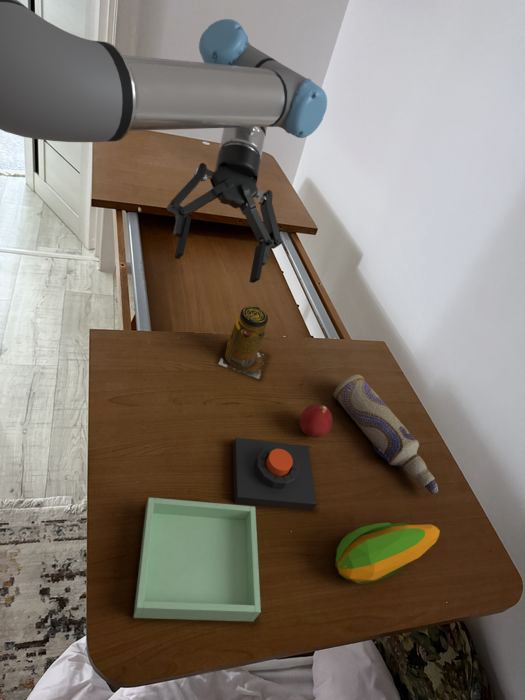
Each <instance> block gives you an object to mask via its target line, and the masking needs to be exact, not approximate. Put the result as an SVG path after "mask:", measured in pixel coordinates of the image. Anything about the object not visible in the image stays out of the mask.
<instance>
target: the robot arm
mask: <svg viewBox="0 0 525 700" xmlns="http://www.w3.org/2000/svg"><path fill="white" fill-rule="evenodd" d="M198 50H199V54H200V56H201V58H202V61H203V62H200V61H189V60H180V59H169V58H160V57H149V56H136V55H128V54H127V55H126V54H123V53H122V51H121V50H119V48H118V47H117V46H115V44H113V43H110V42H107V41H100V40H93V39H92V40H91V39H87V38H84V37H80V36H77V35H76V34H74V33H71V32H69V31H66V30H64V29H62V28H60V27H59V26H57V25H55V24H53V23H51V22H49V21H48V20H46V19H45V18H43V17H42V16H40V15H38V14H37V13H35V12H34V11H32V10H31V9H30V8H28V7H27V6H26V5H25V4H23V3H22V2H21V1H20V0H0V131H2V132H5V133H9V134H11V135H16V136H19V137H23V138H28V139H35V140H41V141H48V142H49V141H51V142H62V143H106V142H108V143H109V142H118V141H119V142H120V141H121V140H123V139H125V137H126V136H128V133H129V132H133V131H134V132H137V131H165V130H166V131H168V130H198V129H199V130H201V129H204V130H205V129H222V134H221V138H220V142H219V147H218V148H219V150H218V152H217V158H216V163H215V167H214V171H213V170H211V169H209V168H207V164H206V163H205V162H201V163H199V165H198V167H197V168H196V170H195V171H194V174H193V176H192V178H191V179H190V180H189V181H188V182H187V183H186V185H184V187H183V188H181V190H180V191H179V192H178V193H177V194H176V195H175V196H174V197H173V198H172V199H171V200H170V202H169V204H168V205H167V206H166V210H167V212H169V213H172V214H173V215H174V218H175V223H174V228H173V232H172V233H173V236H175V237H177V238H178V240H177V244H176V248H175V251H174V252H175V253H174V259H175V260H180V259H181V258H182V257H183V256H184V253H185V249H186V244H187V241H188V235H189V230H190V225H191V222H192V216H190V215H192V214H193V213H194V212H196V211H198V210H200V209H201V208H203V207H204V206H206V205H207V204H209V203H212V202H213V201H215V200H216V199H217V200H218V201H220V202H219V203H221V204H222V205H229V206H230V207H231V208H233V209H240V212H241V213H242V215H243V216H244V217H245V219H246V220H247V222H248V225H249V226H250V230H251V231H252V232H253V234H254V237H255V239H256V241H257V243H258V245H257V246H255V250H254V253H253V254H254V255H253V260H252V265H251V269H250V277H249V283H252V284H254V283H256V282H258V281H260V280H261V276H262V270H263V266H265V265H266V264H267V263H268V262H269V257H270V251H271V249H272V250H274V249H276V248H278V247H279V246H280V245H282V243H283V240H282V237H281V233H280V229H279V225H278V221H277V217H276V213H275V210H274V206H273V195H274V194H273V191H272V190H270V189H268V190H266V191H263V190H260V189H258V186H257V185H258V184H257V183H258V179H259V173H260V168H261V163H262V162H261V161H262V160H261V159H262V155H263V151H264V147H265V140H266V135H267V129H268V128H273V127H274V128H280V129H283V130H284V131H285V132H286V133H287V134H290V135H292V136H294V137H296V138H299V139H304V138H307V137H309V136H311V135H312V134H313V133H314V132H315V131H316V130H317V129H318V128H319V127H320V126H321V123H322V122H323V120H324V116H325V115H326V112H327V107H328V97H327V94H326V92H325V90H324V89H323V88H322V87H320V85H318V84H316V83H315V82H314V81H312V79H311V78H308V77H307V78H306V77H305V76H303V75H302V74H300V73H299V72H296V71H294V70H293V69H291V68H289V67H288V66H286V65H284V64H282V63H281V62H279V61H278V60H276V59H275V58H273V57H271V56H269V55H268V54H267V53H264V52H263V51H261V50H259V49H258V48H257V47H254V46H253V45H252V44H250V42H249V37H248V35H247V33H246V31H245V30H244V28H243V26H242V24H241V23H240V22H238V21H237V20H234V19H231V18H224V19H219V20H216V21H215V22H212V23H210V25H208V27H207V28H206V29H205V30H204V31H203V32H202V34H201V36H200V38H199V42H198ZM207 180H209V181H210V184H211V186H212V188H211V189H210V190H209V191H207V192H205V193H204V194H202V195H200V196H199V197H197V198H195V199H194V200H192V201H191V202H188V203H187V204H185V205H184V206H182V205H181V203H183V202H184V200H185V199H186V198H187V197H188V196H189V195H190V194H191V193H192V192H193V190H195V189H196V187H197V186H198V185H199V184H200V182H206V181H207ZM255 198H256V200H257V204H258V205H259V209H260V213H261V215H260V213H259V211H258V209H257V204H256V201H255V200H254V199H255Z"/></svg>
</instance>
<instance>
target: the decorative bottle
mask: <svg viewBox="0 0 525 700" xmlns="http://www.w3.org/2000/svg"><path fill="white" fill-rule="evenodd" d="M332 396H333V398H334V399H335V400H336V401H338V403H339V405H341V406H342V408H343V409H344V410H345V412H346V413H347V414H348V415H349V416H350V418H351V419H352V420H353V422H355V424H356V425H357V427H358V428H359V429H360V430H361V431H362V433H363V434H364V435H365V436H366V437H367V439H368V440H369V441H370V442H371V443H372V445H373V450H374V452H375V453H376V454H377V455H378V456H380V457H381V458H382V459H384V460H385V461H386V462H387V463H388V464H389V465H390V466H395V467H399V468H400V469H403V470H404V471H405V472H406V473H407V474H408V475H409V476H410V477H412V478H414V479H415V480H416V481H417V483H418V484H419V485H420V486H421V487H422V488H426V489H427V491H428V492H429V493H431V494H432V495H436V494H437V493H438V492H439V491H440V490H439V487H438V483H437V481H436V480H435V477H434V475H433V474H432V473H431V471H430V470H428V466H427V465H426V463H425V461H424V460H423V458H422V457H421V456H420V455H418V453H417V452H418V449H419V447H420V443H419V441H418V440H417V439H416V438H415V436H414V435H413V434H412V433H411V431H410V430H409V429H407V427H406V426H405V425H404V424H403V422H401V421H400V419H399V418H398V417H397V416H396V415H395V413H393V412H392V410H391V409H390V408H389V406H388V405H387V404H386V403H385V402H384V401H383V400H382V398H380V396H379V395H378V394H377V393H376V391H374V389H373V388H372V387H371V386H370V385H369V383H368V382H367V381H366V380H365V378H364V377H363V376H362V375H361V374H354V375H352V376H350V377H347V378H346V379H344V380H343V381H342V382H341V383H339V385H337V387H336V388H335V390H334V392H333V394H332Z"/></svg>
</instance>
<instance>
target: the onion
mask: <svg viewBox="0 0 525 700" xmlns="http://www.w3.org/2000/svg"><path fill="white" fill-rule="evenodd" d="M299 416H300V417H299V425H300V429H301V431H302V432H303V433H304V434H306V436H308V437H310V438H322V437H325V436H326V435H328V434H329V432H330V431H331V429H332V427H333V421H334V419H333V415H332V412H331V411H330V409H329V408H328V407H327V406H325V405H324V404H320V403H316V404H311V405H309V406H307V407H305V408H304V409H303V410H302V412H301V413H300V415H299Z"/></svg>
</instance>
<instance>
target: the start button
mask: <svg viewBox="0 0 525 700" xmlns="http://www.w3.org/2000/svg"><path fill="white" fill-rule="evenodd" d="M292 464H293V459H292V457H291V455H290V454H289V453H288V452H287V451H285V450H283V449H274V450H272V451H271V452H270V454H269V456H268V458H267V460H266V466H267V469H268V470H269V471H270V472H271V473H272V474H274V475H276V476H284V475H286V474H287V473H288V472H289V470H290V468H291V467H292Z"/></svg>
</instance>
